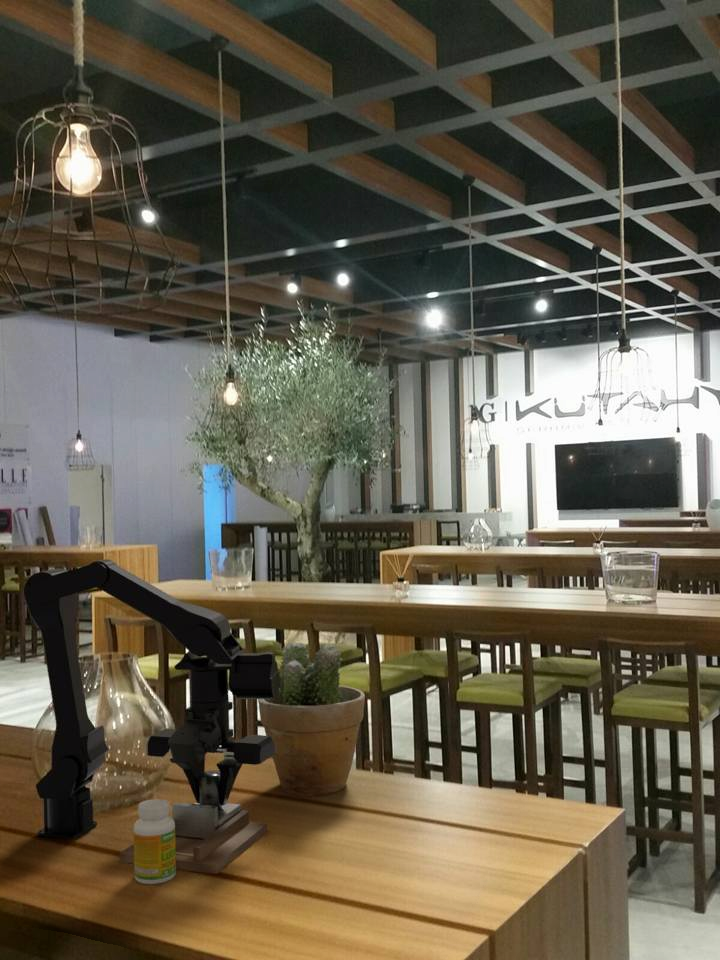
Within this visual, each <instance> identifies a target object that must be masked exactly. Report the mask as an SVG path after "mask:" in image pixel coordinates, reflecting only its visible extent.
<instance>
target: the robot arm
mask: <svg viewBox="0 0 720 960" xmlns="http://www.w3.org/2000/svg"><path fill="white" fill-rule="evenodd" d="M94 589H99V590H101V591H102V592H104V593H106V594H108V595H109V596H111V597H112V598H115V599H117V600H118V601H119V602H122V603H123V604H125V605H127V606H129V607H130V608H132V609H134V610H136V611H137V612H139V613H141V614H143V615H144V616H146V617H148V618H150V619H151V620H153V621H154V622H156V623H158V624H160V625H162V627H164V629H166V630H167V631H168V632H169V634H171V636H172V637H173V639H174V640H175V641H177V642H178V643H179V644H180V645H181V646H182V647H184V648H185V649H186V650H187V652H186V653H185V654H184V655H183V656H182V658H181V659H180V661H178V663H176V664H175V665H174V669H175V670H176V671H188V680H189V682H188V683H189V685H188V686H189V707H186V708H185V712H184V720H183V723H182V724H181V725H179V726H178V727H177V728H176V729H175V728H164V729H162V730H160V731H158V732H156V733H154V734H152V735H150V736H149V737H148V739H147V742H146V743H145V744H146V745H145V746H146V756H148V757H156V758H157V757H159V758H164V757H166V755H167V754H168V753H169V752H170V755H171V757H170V759H169V762H171V764H175V765H177V766H178V767H179V768H181V770H182V771H183V773H184V775H185V777H186V778H187V781H188V784H189V787H190V789H191V791H192V794H193V797H194V799H195V803H196V802H197V803H199V774H200V773H202V772H205V771H206V770H205V766H206V763H205V762H206V755H207V754H208V753H210V754H215V753H216V754H223V759H222V760H220V761H219V762H217V763H216V764H215V765H216V767H217V769H218V771H220V802H221V806H224V805H225V804H226V803H228V800H229V797H230V795H231V793H232V790H233V788H234V784H235V782H236V779H237V777H238V774H239V773H240V770H241V768H242V767H243V765H253V766H254V765H255V766H257V765H261V764H262V763H264V762H265V761H267V760H269V759H270V758H272V756H273V755H274V754H275V743H274V741H273V740H272V738H271V737H270V736H266V735H260V734H248V735H246V736H245V737H243V738H241V739H240V740H233V739H232V740H231V739H230V738H232V737H234V729H233V728H230V711H231V710H233V706H234V705H233V704H234V703H233V701H229V691H230V692H231V695H232V696H235V697H236V699H237V700H258V699H276V698H277V696H278V692H279V687H280V685H281V684H280V679H281V677H280V676H281V675H280V670H279V668H278V663H277V660H276V652H274V651H265V652H261V653H260V652H259V653H255V652H246V651H245V649H244V648H243V647H242V645H241V644H240V643H239V642H238V639H236V638H235V636H234V634H233V633H232V632H231V625H230V621H229V620H228V618H227V617H226V616H225V615H223V614H221V613H220V612H217V611H214V610H212V609H210V608H206V607H204V606H200V605H195V604H192V603H187V602H184V601H181V600H179V599H177V598H175V597H174V596H171V595H170V594H168V593H167V592H166V591H163V590H162V589H160V588H158V587H156V586H155V585H153V584H151V583H149V582H148V581H146V580H144V579H142V578H140V577H139V576H137V575H135V574H134V573H132V572H130V571H128V570H127V569H125V568H123V567H122V566H119V565H118V564H117V563H116V562H115V561H114V560H112V559H109V558H108V559H100V560H96V561H93V562H91V563H90V564H87V565H84V566H83V565H82V566H81V567H76V568H74V569H69V570H68V569H65V568H52V569H47V570H43V571H39V572H36V573H33V574H32V575H31V576H29V577H28V579H27V580H26V582H24V585H23V589H22V591H23V592H22V594H23V598H24V601H25V603H26V607H27V609H28V613H29V616H30V618H31V619H32V620H33V622H34V624H35V625H36V626H37V628H38V630H39V631H40V634H41V639H42V643H43V650H44V656H45V664H46V670H47V675H48V683H49V688H50V695H51V700H52V701H51V702H52V706H53V714H54V719H55V730H54V733H53V734H54V735H53V738H52V742H51V743H52V744H51V750H50V755H51V756H50V759H51V760H50V770H48V771H47V773H46V774H44V776H43V777H41V779H40V780H39V781H38V782H37V783H36V784H35V788H36V791H37V794H38V797H39V799H40V800H41V799H42V800H43V803H42V804H43V828H41V829H40V830H38V831H36V832H37V833H36V834H37V835H36V836H41V837H50V838H56V839H58V838H59V839H65V840H73V839H76V838H78V837H79V836H81V835H83V834H84V833H86V832H89V831H90V830H91V829H93V828H95V827H97V825H98V821H96V820H94V814H93V813H94V804H93V801H94V800H93V798H91V788H90V787H86V786H87V784H89V783H91V782H93V779H94V778H95V774H96V772H98V771H99V770H100V769H101V767H102V766H103V764H104V762H105V760H106V753H107V752H108V751H109V748H108V746H107V744H106V740H105V727H104V725H98V726H96V727H95V725H94V724H93V722H92V721H91V719H90V718H89V715H88V710H87V709H88V708H87V705H86V703H87V702H86V698H85V697H86V696H85V690H84V684H83V679H82V672H81V666H80V660H79V654H78V648H77V641H76V635H75V628H74V625H75V619H76V615H77V610H78V606H79V605H78V604H79V593H82V592H86V591H90V590H94Z"/></svg>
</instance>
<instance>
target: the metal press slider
mask: <svg viewBox="0 0 720 960" xmlns="http://www.w3.org/2000/svg"><path fill="white" fill-rule="evenodd" d="M171 806H172V808H171V809H172V810H171V811H172V818H173V820H174V822H175V835H178V836H187V837H195V838H204V839H205V838H207V837H208V836H209V835H211V834H212V833H213V832H215V831H216V830H217V829H219V828H220V827H221V826H223V825H224V824H225V823H227V822H228V821H229V820H231V819H232V818H233V817H235V816H236V815H237V814H239V813H240V812H241V811H242V809H241V807H242V806H241V804H239V803H228V802H227V803H226V804H225V805H224V806H221V802H220V771H219V770H215V769H214V770H205V771H204V772H202V773H200V774H199V803H197V802H196V801H195V802H194V803H187V802H179V801H178V802H177V801H175V802H174V803H172V804H171Z"/></svg>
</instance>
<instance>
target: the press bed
mask: <svg viewBox="0 0 720 960" xmlns="http://www.w3.org/2000/svg"><path fill="white" fill-rule="evenodd" d="M171 818H172V819H173V817H171ZM266 833H268V823H265V822H257V821H250V811H249V810H246V809H245V810H241V812H240V813H239V814H237V815H236V816H235V817H233V818H232V819H231V820H229V821H228V822H227V823H225V824H224V825H223V826H221V827H220V828H219V829H217V830H216V831H215V832H213V833H212V834H211V835H209V836H208V837H207V838H205V839H204V838H195V837H187V836H178V835H175V845H176V870H181V871H190V872H197V873H203V874H205V873H206V874H214V875H218V874H219V873H220V872H221V871H222V870H223V869H224V867H225V866H226V865H227V864H228V865H229V864H230V863H232V862H233V861H234V860H235V859H237V858H238V857H239V856H240V855H241V854H242V853H243V852H245V851H247V849H249V848H250V847H251V846H252V845H253V844H254V843H256V842H257V841H258V840H259V839H261V838H262V837H261V836H264V835H265V834H266ZM249 846H250V847H249ZM237 856H238V857H237ZM233 859H234V860H233ZM232 860H233V861H232ZM231 861H232V862H231ZM119 862H120V863H126V864H134V843H133V844H131V845H130V846H128V847H127V848H125V849H124V850H122V851H120V852H119ZM228 865H227V866H228ZM227 866H226V867H227ZM226 867H225V868H226ZM218 872H219V873H218Z"/></svg>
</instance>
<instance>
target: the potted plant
mask: <svg viewBox="0 0 720 960" xmlns="http://www.w3.org/2000/svg"><path fill="white" fill-rule="evenodd" d="M282 650H283V652H282V651H281V652H280V656H282V657H281V660H282V661H280V663H281V666H280V670H281V672H282V673H281V674H282V676H281V677H280V684H279V692H278V696H277V698H276V699H257V703H258V710H259V718H260V723H261V724H262V726H263V728H264V732H265V736H270V737H271V738H272V740H273V741H274V743H275V754H274V755H273V756H271V758H272V760H273V763H274V766H275V770H276V773H277V776H278V779H279V784H280V787H281V788H282V790H283V791H284V792H286V793H288V794H292V795H295V796H302V797H303V796H304V797H317V796H324V795H325V796H326V795H331V794H334V793H337V792H339V791H341V790H342V789H344V788H345V787H346V785H347V783H348V779H349V775H350V772H351V770H352V766H353V761H354V757H355V751H356V747H357V743H358V738H359V731H360V727H361V726H360V725H361V722H362V721H363V719H364V716H365V715H364V711H365V710H364V709H365V699H366V696H365V693H364V692H363V691H362V690H360V689H358V688H355V687H352V686H345V685H341V684H340V678H341V677H340V675H341V674H340V672H339V670H340V668H341V662H342V661H343V658H341V655H342V653H341V652H340V651H339V648H338V647H337V646H336V645H332V644H331V645H330V644H324V646H319V650H317V652H315V658H314V660H313V662H311V657H310V654H309V651H308V648H307V645H306V644H305V643H303V642H297V641H296V642H295V641H294V642H290V643H287V644H285V646H284V647H282Z"/></svg>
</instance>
